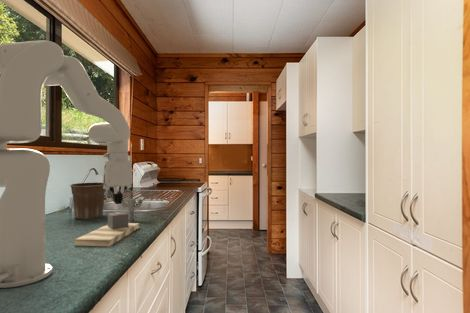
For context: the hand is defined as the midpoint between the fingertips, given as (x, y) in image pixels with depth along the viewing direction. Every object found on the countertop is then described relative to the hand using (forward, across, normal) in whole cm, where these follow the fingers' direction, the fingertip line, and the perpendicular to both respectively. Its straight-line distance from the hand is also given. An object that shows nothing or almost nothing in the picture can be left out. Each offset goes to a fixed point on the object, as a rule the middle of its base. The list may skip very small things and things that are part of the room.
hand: (118, 203), depth 114 cm
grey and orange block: (+9, 0, 0) cm, 9 cm away
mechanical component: (+11, +11, +16) cm, 22 cm away
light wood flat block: (+11, -4, -4) cm, 13 cm away
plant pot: (+11, -1, +37) cm, 38 cm away
